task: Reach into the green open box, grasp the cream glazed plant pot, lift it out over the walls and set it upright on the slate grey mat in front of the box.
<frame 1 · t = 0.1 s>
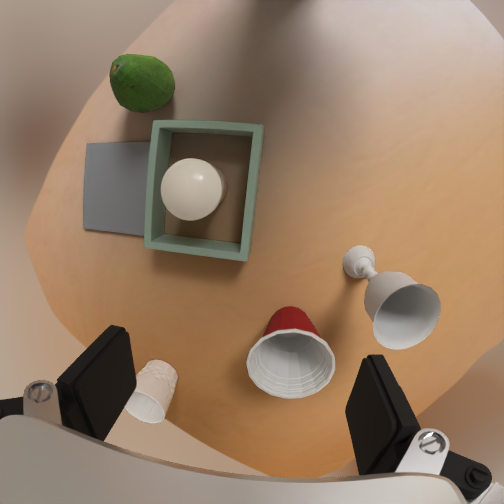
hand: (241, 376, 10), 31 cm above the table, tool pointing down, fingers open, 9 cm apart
pot: (199, 187, 35), in the green open box
white cup: (161, 372, 49), on the table
avocado: (157, 93, 36), on the table
green open box: (207, 186, 39), on the table
mat: (114, 187, 40), on the table
chalice: (358, 261, 41), on the table
plastic cup: (288, 321, 44), on the table
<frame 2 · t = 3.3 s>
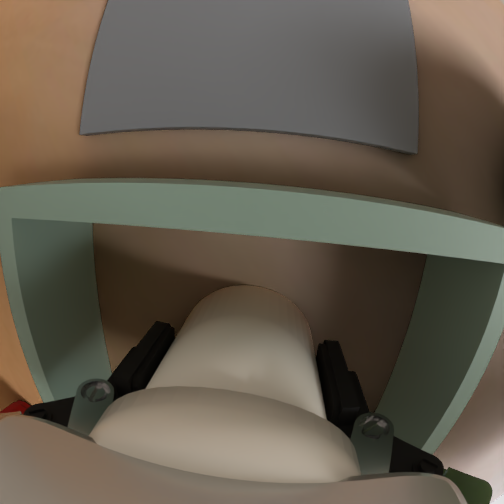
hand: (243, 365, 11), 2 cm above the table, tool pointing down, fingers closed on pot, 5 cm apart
pot: (234, 411, 8), in the green open box, touching gripper
green open box: (247, 344, 13), on the table
mat: (250, 6, 9), on the table
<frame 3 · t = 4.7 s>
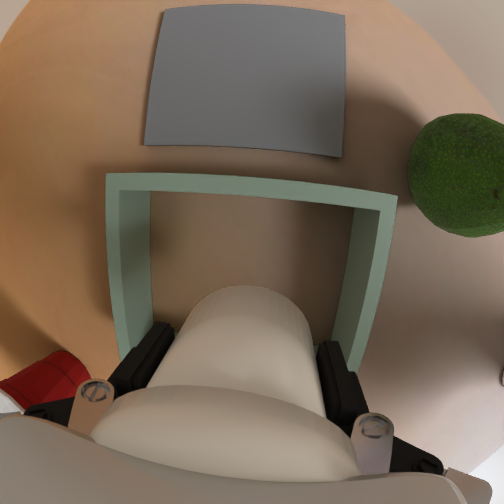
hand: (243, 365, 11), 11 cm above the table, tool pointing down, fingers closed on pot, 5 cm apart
pot: (235, 410, 8), point 14 cm above the table, touching gripper
avocado: (428, 171, 19), on the table
green open box: (245, 272, 22), on the table
mat: (247, 69, 18), on the table
plastic cup: (71, 368, 26), on the table
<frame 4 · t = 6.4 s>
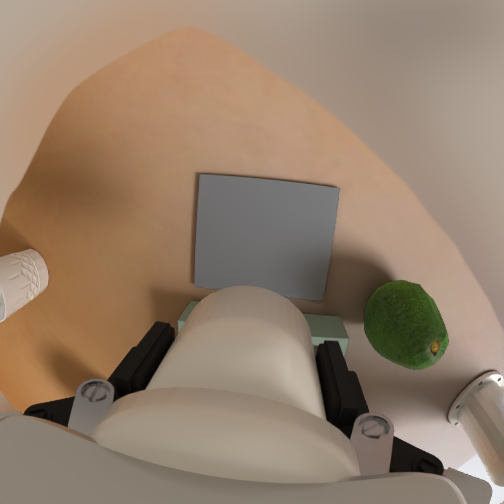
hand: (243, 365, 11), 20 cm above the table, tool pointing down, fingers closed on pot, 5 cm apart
pot: (234, 412, 8), point 22 cm above the table, touching gripper
white cup: (35, 269, 34), on the table
avocado: (384, 300, 31), on the table
green open box: (259, 359, 34), on the table
mat: (264, 238, 30), on the table
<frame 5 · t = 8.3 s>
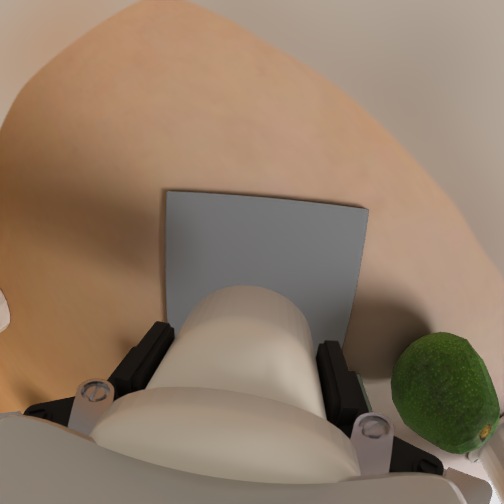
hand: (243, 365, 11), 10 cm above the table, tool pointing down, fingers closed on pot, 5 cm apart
pot: (234, 412, 8), point 13 cm above the table, touching gripper
avocado: (416, 350, 22), on the table
mat: (260, 280, 21), on the table
when the fingers open (4 cm above the table, at t = 10.0 s): pot drops 1 cm, resting on mat.
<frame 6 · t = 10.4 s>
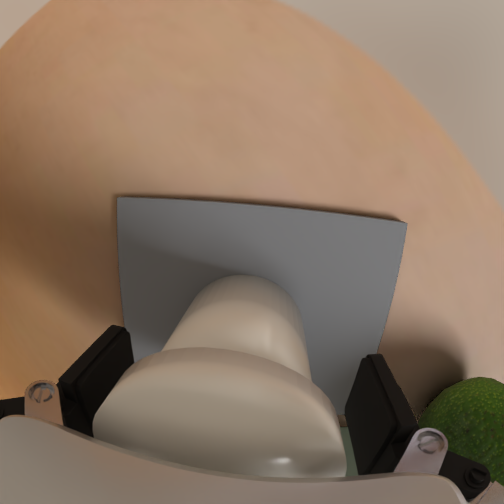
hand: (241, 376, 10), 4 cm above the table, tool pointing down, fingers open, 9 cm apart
pot: (232, 384, 10), on the mat, point 5 cm above the table
avocado: (444, 394, 16), on the table
green open box: (249, 472, 18), on the table
mat: (250, 322, 15), on the table
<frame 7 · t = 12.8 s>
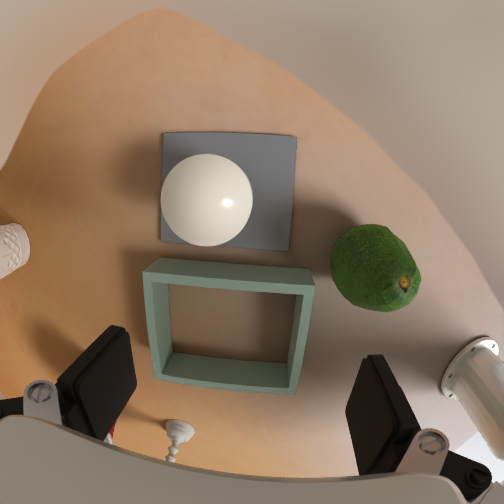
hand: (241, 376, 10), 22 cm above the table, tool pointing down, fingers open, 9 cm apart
pot: (214, 195, 25), on the mat, point 5 cm above the table
white cup: (18, 243, 33), on the table
avocado: (355, 251, 31), on the table
green open box: (229, 319, 34), on the table
mat: (225, 189, 30), on the table
chalice: (180, 428, 41), on the table
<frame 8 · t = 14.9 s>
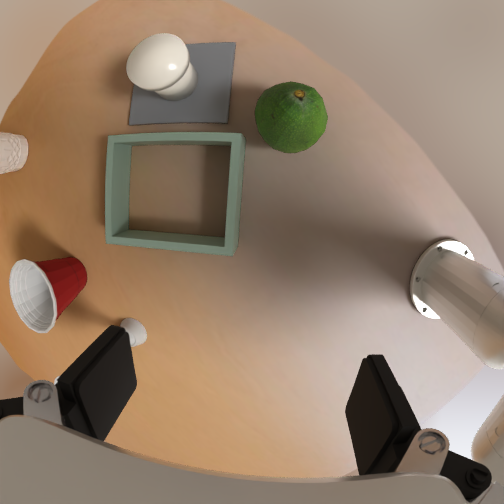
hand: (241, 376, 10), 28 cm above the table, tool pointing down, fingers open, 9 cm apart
pot: (167, 71, 28), on the mat, point 5 cm above the table
white cup: (19, 152, 37), on the table
avocado: (288, 125, 34), on the table
green open box: (178, 189, 37), on the table
mat: (180, 82, 33), on the table
chalice: (133, 331, 44), on the table
plastic cup: (75, 271, 42), on the table
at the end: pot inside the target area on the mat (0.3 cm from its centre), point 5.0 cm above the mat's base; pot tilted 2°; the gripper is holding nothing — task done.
